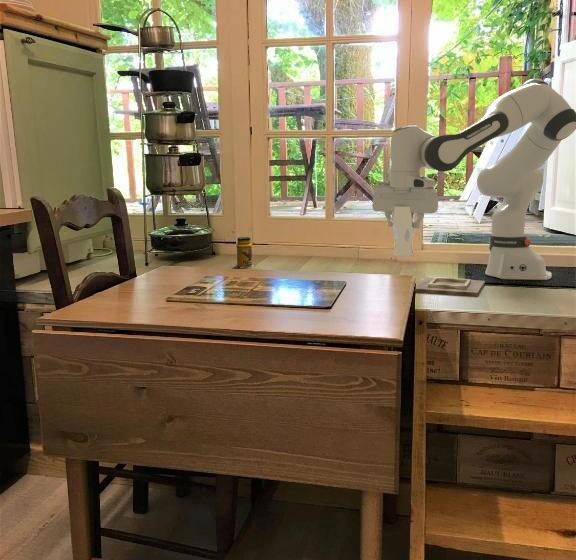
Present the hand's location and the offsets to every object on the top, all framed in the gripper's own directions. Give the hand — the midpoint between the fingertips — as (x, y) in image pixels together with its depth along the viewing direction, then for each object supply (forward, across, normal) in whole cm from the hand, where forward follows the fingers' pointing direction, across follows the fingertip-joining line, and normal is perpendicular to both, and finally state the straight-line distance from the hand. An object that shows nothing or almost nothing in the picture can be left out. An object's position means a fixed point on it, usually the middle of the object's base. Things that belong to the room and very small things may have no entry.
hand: (404, 227), depth 189 cm
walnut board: (+22, +8, +20) cm, 30 cm away
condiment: (+22, -79, +18) cm, 84 cm away
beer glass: (+9, 0, 0) cm, 9 cm away
